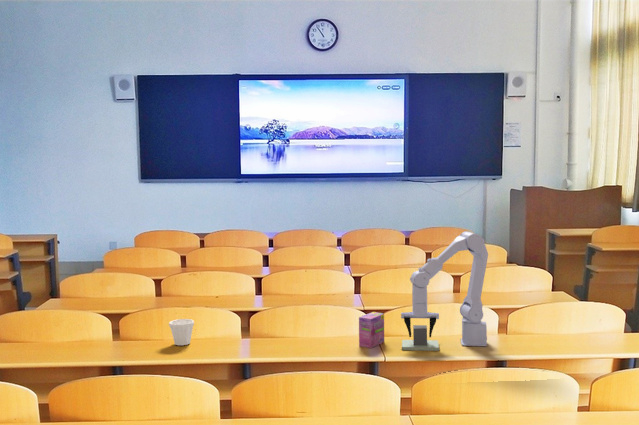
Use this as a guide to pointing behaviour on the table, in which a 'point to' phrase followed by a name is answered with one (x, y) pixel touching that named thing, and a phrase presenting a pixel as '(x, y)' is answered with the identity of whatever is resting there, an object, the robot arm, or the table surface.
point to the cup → (181, 331)
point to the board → (431, 346)
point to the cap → (420, 335)
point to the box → (371, 329)
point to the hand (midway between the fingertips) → (420, 336)
